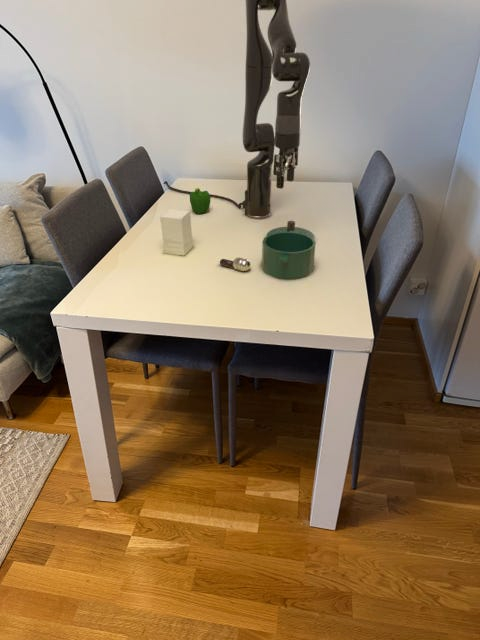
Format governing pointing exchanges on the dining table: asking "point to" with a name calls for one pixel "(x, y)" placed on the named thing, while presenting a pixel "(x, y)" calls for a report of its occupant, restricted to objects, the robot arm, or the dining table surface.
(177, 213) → the white packaging box
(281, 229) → the lid
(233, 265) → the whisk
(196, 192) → the bell pepper
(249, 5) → the robot arm
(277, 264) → the pot
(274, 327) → the dining table surface
